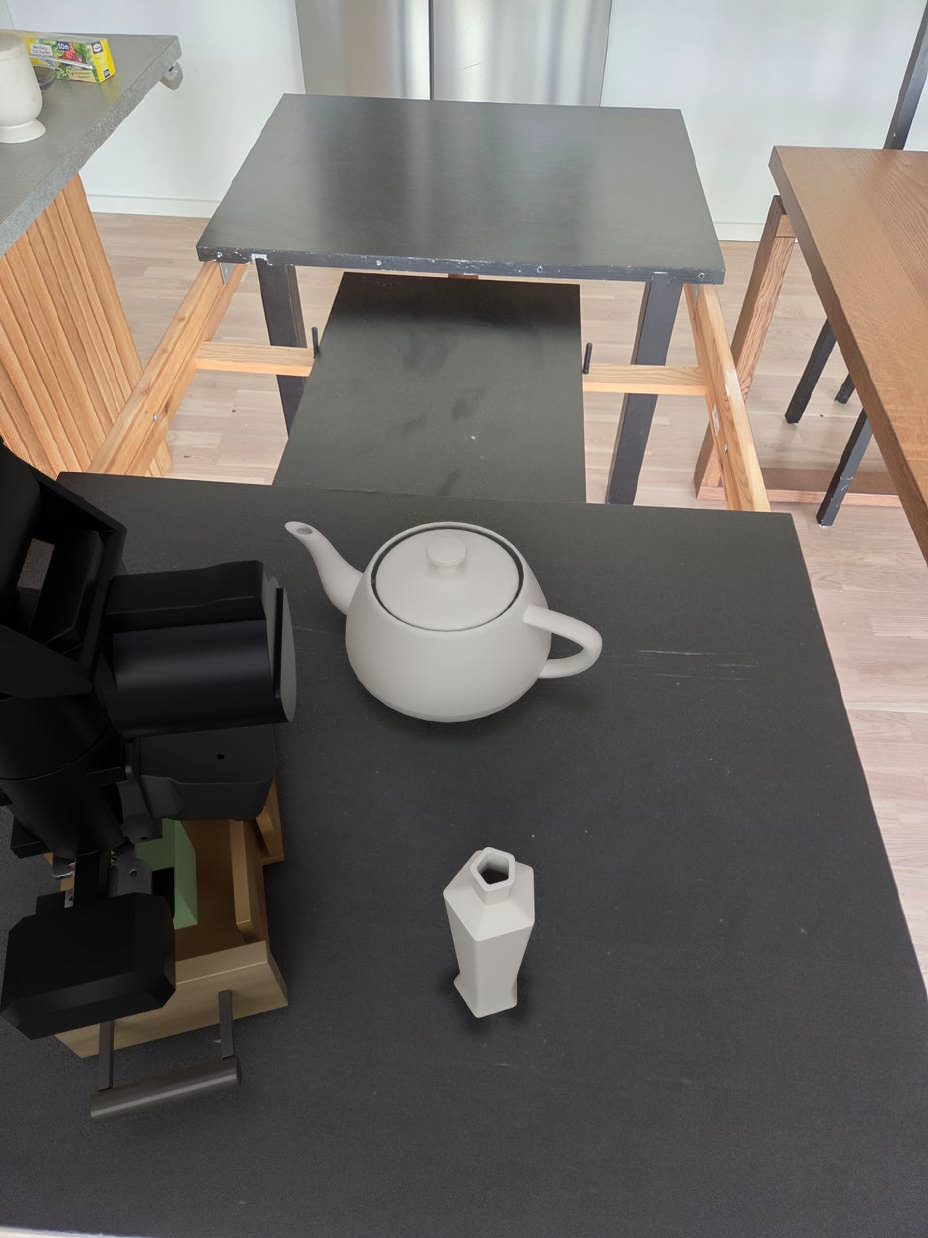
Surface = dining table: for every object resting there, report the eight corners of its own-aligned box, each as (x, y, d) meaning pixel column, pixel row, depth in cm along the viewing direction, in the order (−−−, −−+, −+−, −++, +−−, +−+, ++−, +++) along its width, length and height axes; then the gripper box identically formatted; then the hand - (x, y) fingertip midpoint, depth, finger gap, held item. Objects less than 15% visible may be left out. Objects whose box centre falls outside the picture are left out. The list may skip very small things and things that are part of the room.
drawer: (298, 1095, 45) (276, 1059, 40) (75, 1156, 43) (24, 1126, 38) (267, 803, 57) (248, 747, 52) (92, 841, 55) (54, 786, 50)
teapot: (621, 638, 68) (644, 524, 59) (554, 793, 58) (570, 685, 49) (350, 552, 75) (333, 437, 66) (251, 678, 65) (216, 564, 56)
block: (112, 944, 44) (84, 910, 41) (115, 868, 47) (89, 830, 44) (198, 925, 45) (177, 889, 42) (195, 851, 48) (175, 812, 45)
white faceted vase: (449, 943, 51) (444, 822, 40) (521, 945, 51) (536, 824, 40) (446, 1023, 48) (439, 915, 37) (522, 1025, 48) (539, 919, 37)
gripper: (263, 887, 29) (321, 1029, 40) (230, 533, 41) (282, 720, 53) (-86, 967, 27) (79, 1092, 39) (-12, 572, 39) (97, 757, 51)
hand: (149, 888), depth 45 cm, fingers closed on block, 4 cm apart
